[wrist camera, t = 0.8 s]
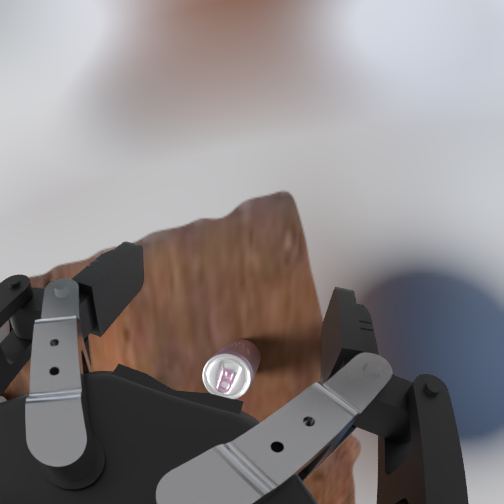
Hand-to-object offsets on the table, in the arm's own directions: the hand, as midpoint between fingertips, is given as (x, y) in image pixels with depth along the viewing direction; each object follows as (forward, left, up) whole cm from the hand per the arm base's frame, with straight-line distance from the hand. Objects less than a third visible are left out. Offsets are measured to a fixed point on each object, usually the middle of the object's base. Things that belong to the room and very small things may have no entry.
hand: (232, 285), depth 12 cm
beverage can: (-8, +6, -38) cm, 39 cm away
